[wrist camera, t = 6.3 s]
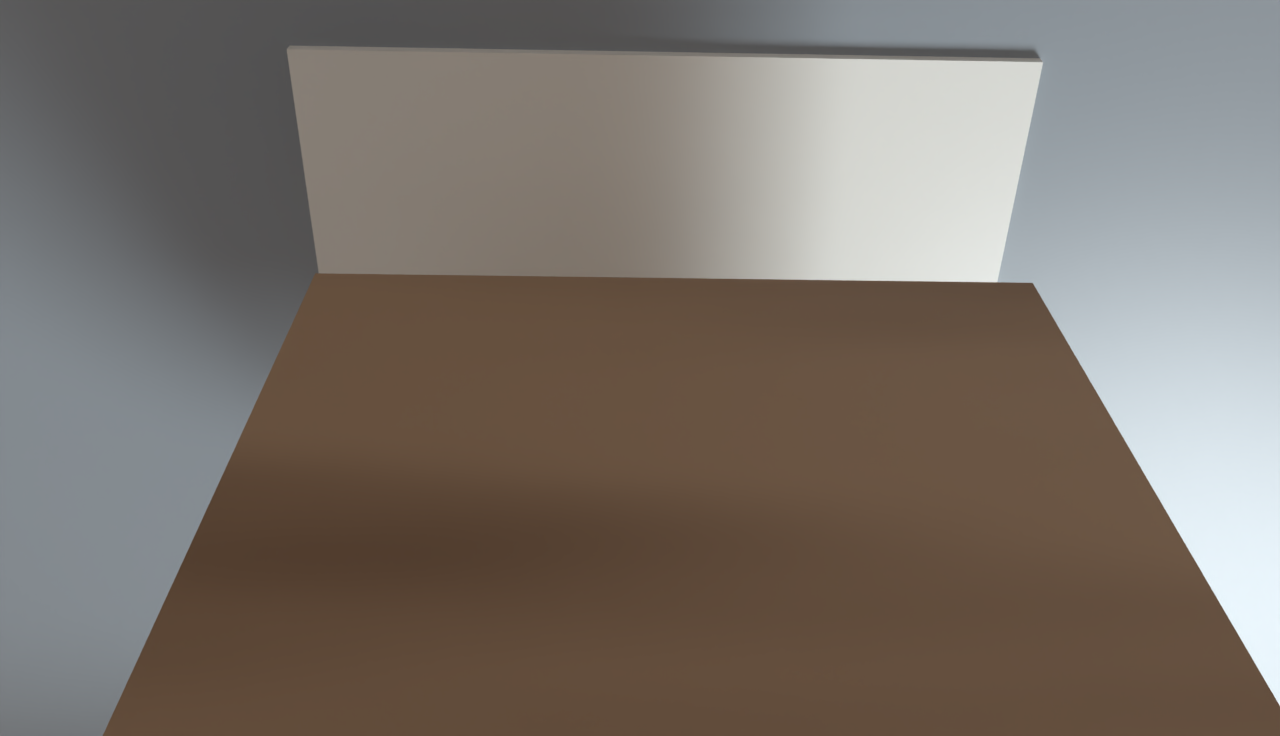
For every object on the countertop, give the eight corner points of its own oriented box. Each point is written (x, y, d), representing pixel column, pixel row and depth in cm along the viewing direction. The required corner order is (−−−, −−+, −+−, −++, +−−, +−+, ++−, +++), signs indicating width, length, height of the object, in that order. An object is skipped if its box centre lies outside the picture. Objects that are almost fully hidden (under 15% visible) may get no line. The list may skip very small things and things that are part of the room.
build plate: (1212, 754, 17) (1246, 822, 16) (59, 746, 16) (25, 815, 16) (1730, -464, 9) (1852, -468, 8) (-405, -517, 9) (-525, -531, 8)
